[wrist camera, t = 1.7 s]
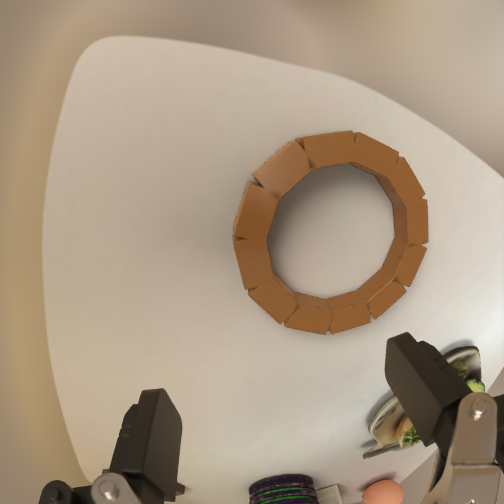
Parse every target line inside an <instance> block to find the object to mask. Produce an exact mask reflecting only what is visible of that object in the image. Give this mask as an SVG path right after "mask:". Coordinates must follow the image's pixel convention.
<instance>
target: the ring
mask: <svg viewBox="0 0 504 504" xmlns="http://www.w3.org/2000/svg"><path fill="white" fill-rule="evenodd" d="M398 155H399V152H398V151H396V150H394V149H392V148H390V147H388V146H386V145H384V144H383V143H381V142H379V141H377V140H375V139H373V138H371V137H369V136H367V135H365V134H362V133H360V132H355V133H353V131H343V132H335V133H328V134H321V135H314V136H308V137H302V138H297V139H295V141H291V142H288V143H287V144H286V145H284V146H283V147H282V148H281V149H280V150H279V151H278V152H276V153H275V154H274V155H273V156H272V157H271V158H270V159H268V160H267V161H266V162H265V163H264V164H263V165H262V166H260V167H259V168H258V169H257V170H256V171H255V172H254V173H253V174H252V176H253V177H254V178H255V179H256V180H257V181H258V182H259V183H260V184H258V183H255V182H252V181H247V184H246V187H245V190H244V193H243V196H242V200H241V203H240V206H239V209H238V212H237V215H236V219H235V222H234V225H233V244H234V248H235V252H236V256H237V260H238V264H239V268H240V272H241V276H242V280H243V284H244V288H245V290H247V289H248V295H249V296H250V297H251V298H252V299H253V300H254V301H255V302H256V303H257V304H258V305H259V306H260V307H262V308H263V309H264V310H265V311H266V312H267V313H268V314H269V315H270V316H271V317H272V318H274V319H275V320H276V321H277V322H278V323H279V324H281V323H283V322H284V324H285V327H288V328H292V329H297V330H303V331H308V332H313V333H318V334H324V335H326V333H327V331H328V329H329V331H330V333H331V334H334V333H338V332H341V331H345V330H348V329H351V328H354V327H358V326H361V325H364V324H367V323H370V314H371V315H372V316H373V317H374V319H377V318H378V317H379V316H380V315H381V314H383V313H384V312H385V311H386V310H387V309H388V308H389V307H390V306H392V305H393V304H394V303H395V302H396V301H397V300H398V299H399V298H400V297H401V296H402V295H403V294H405V293H406V290H405V288H404V287H403V285H405V286H408V287H410V286H411V284H412V282H413V279H414V277H415V275H416V273H417V271H418V268H419V266H420V264H421V262H422V259H423V257H424V255H425V252H426V250H427V248H426V247H424V246H423V245H421V244H425V243H428V207H427V200H426V199H423V198H422V197H423V196H424V195H425V192H424V191H423V189H422V187H421V185H420V183H419V182H418V180H417V178H416V176H415V175H414V173H413V171H412V170H411V168H410V166H409V165H408V163H407V161H406V160H405V158H404V157H399V156H398ZM346 163H348V164H351V165H353V166H355V167H357V168H360V169H362V170H364V171H366V172H369V173H371V174H373V175H375V177H376V178H377V180H378V181H379V183H380V184H381V186H382V187H383V189H384V190H385V192H386V193H387V195H388V196H389V198H390V200H391V201H392V203H393V214H394V229H395V238H394V240H393V243H392V245H391V248H390V250H389V252H388V255H387V257H386V260H385V262H384V264H383V266H382V268H381V269H380V270H379V271H378V272H377V273H376V274H375V275H374V276H373V277H372V278H370V279H369V280H368V281H367V282H366V283H365V284H364V285H363V286H361V287H360V288H359V289H358V290H357V291H354V292H350V293H347V294H343V295H340V296H336V297H333V298H329V299H321V298H317V297H313V296H309V295H304V294H300V293H296V292H293V291H292V290H291V289H290V288H289V286H288V285H287V284H286V283H285V282H284V281H283V280H282V279H281V278H280V277H279V276H278V275H277V274H276V273H275V272H274V271H273V270H272V265H271V261H270V256H269V251H268V246H267V241H266V239H267V236H268V233H269V230H270V227H271V224H272V221H273V218H274V215H275V212H276V209H277V206H278V204H279V201H280V198H281V197H282V196H283V195H285V194H286V193H287V192H288V191H289V190H290V189H291V188H292V187H294V186H295V185H296V184H297V183H298V182H299V181H300V180H302V179H303V178H304V177H305V176H306V175H307V174H308V173H309V172H311V171H312V170H313V169H317V168H322V167H328V166H334V165H340V164H346Z"/></svg>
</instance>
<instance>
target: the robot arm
mask: <svg viewBox="0 0 504 504" xmlns="http://www.w3.org/2000/svg"><path fill="white" fill-rule="evenodd" d="M385 376H386V380H387V382H388V384H389V386H390V388H391V389H392V391H393V392H394V394H395V396H396V397H397V399H398V401H399V402H400V404H401V406H402V407H403V409H404V411H405V413H406V414H407V416H408V418H409V419H410V421H411V423H412V424H413V426H414V428H415V430H416V431H417V433H418V435H419V437H420V438H421V440H422V442H423V444H424V445H425V447H427V446H429V445H431V444H433V443H436V444H437V446H438V450H437V454H436V458H435V462H434V466H433V470H432V473H431V477H430V480H429V484H428V487H427V490H426V494H425V496H424V498H423V501H422V503H421V504H496V500H497V495H498V489H499V483H500V476H501V470H502V472H503V473H504V394H503V395H500V396H496V397H491V396H490V395H489V394H486V393H483V392H473V391H472V390H471V388H470V387H469V386H468V385H467V384H466V382H465V381H464V380H463V379H462V378H461V376H460V375H459V374H458V373H457V372H456V371H455V369H454V368H453V367H452V366H451V365H449V363H448V361H447V360H446V359H445V358H444V357H442V355H441V353H440V352H439V351H438V350H437V349H436V348H435V347H434V346H432V345H430V344H428V343H427V342H425V341H420V342H417V341H416V340H415V339H414V338H413V337H412V335H411V334H410V333H408V332H405V333H403V334H400V335H397V336H395V337H392V338H389V339H388V340H387V347H386V359H385ZM181 436H182V421H181V417H180V414H179V413H178V411H177V409H176V408H175V406H174V404H173V403H172V401H171V399H170V397H169V396H168V394H167V392H166V391H165V390H164V389H163V388H161V389H150V390H143V391H142V393H141V395H140V399H139V402H138V404H133V405H132V406H131V407H130V409H129V410H128V411H127V413H126V414H125V416H124V419H123V423H122V428H121V429H120V433H119V437H118V439H117V443H116V446H115V450H114V454H113V457H112V461H111V465H110V468H109V471H108V473H105V474H103V475H101V476H99V477H98V478H96V480H95V481H94V482H93V484H92V485H90V486H84V487H76V488H71V487H70V486H68V485H67V484H66V483H65V482H63V481H59V480H55V481H52V482H50V483H48V484H47V485H46V486H45V487H44V488H43V490H42V493H41V497H40V500H39V504H164V501H170V502H175V497H176V485H177V474H178V464H179V454H180V445H181ZM495 459H496V461H497V462H498V464H496V463H495Z"/></svg>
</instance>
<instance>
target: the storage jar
mask: <svg viewBox="0 0 504 504" xmlns="http://www.w3.org/2000/svg"><path fill="white" fill-rule="evenodd" d="M249 494H250V502H249V504H320V503H319V502H318V497H317V493H316V491H315V489H314V487H313V481H312V478H311V477H309V476H307V475H302V474H285V475H278V476H272V477H268V478H265V479H262V480H259V481H257V482H255V483H253V484H252V485H251V486H250V487H249Z"/></svg>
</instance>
